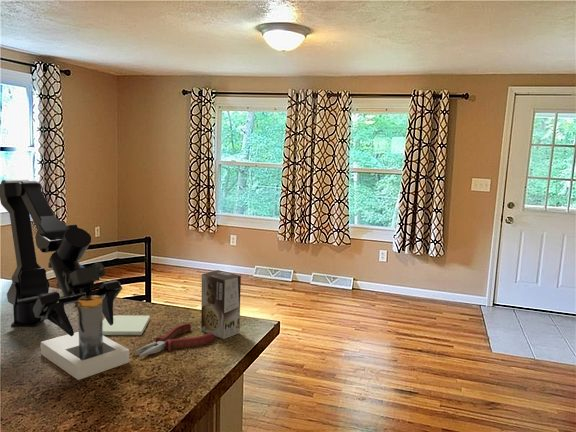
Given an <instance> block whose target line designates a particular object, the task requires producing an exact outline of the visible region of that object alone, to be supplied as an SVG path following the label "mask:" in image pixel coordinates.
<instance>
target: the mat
mask: <svg viewBox="0 0 576 432" xmlns="http://www.w3.org/2000/svg"><path fill="white" fill-rule="evenodd" d="M150 320H151V315H114V314H113V322H114V323H113V325H111V326H110V324H109V323H108V322H107V320H106V318H105V317H104V318H103V336H142V335H143V334H144V332H145V329H146V328H147V327H148V324H149V322H150Z"/></svg>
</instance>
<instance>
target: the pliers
mask: <svg viewBox="0 0 576 432" xmlns="http://www.w3.org/2000/svg"><path fill="white" fill-rule="evenodd" d="M191 330H192V325H191V324H190V323H184V324H181V325H177V326H175V327H173V328H172V329H170V330H169V331H168V332H167V333H166V334H164V336H157V337H156V338H155V341H153V342H151V343H149V344H146V345H145V346H142V347H139V348H137V349H135V350H134V351H132V352H131V354H139V355H138V357H140V358H141V357H144V356H149V355H153V354H156V353H160V352H162V351H163V350H166V351H168V352H172V350H173V349H174V350H175V349H182V348H190V347H191V348H192V347H198V346H205V345H206V344H209V343H211V342H213V341H214V340H215V336H214V334H213V333H205V334H202V335H199V336H194V337H182V338H176V336H179V335H180V334H183V333H186V332H189V331H191Z"/></svg>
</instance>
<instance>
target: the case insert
mask: <svg viewBox="0 0 576 432" xmlns="http://www.w3.org/2000/svg"><path fill="white" fill-rule="evenodd" d="M40 354H41V355H42V356H43V357H44V358H46V359H48V360H49V361H51V362H52V363H53V364H54V365H56V366H57V367H59V368H60V369H62V370H63V371H65V372H66V373H67V374H68V375H70V376H71V377H73V378H75V380H77V381H79V380H83V379H85V378H89V377H91V376H94V375H96V374H99V373H102V372H106V371H107V370H110V369H113V368H117V367H119V366H123V365H125V364H128V363H130V349H128V348H127V347H126V346H123V345H121V344H119V343H118V342H116V341H114V340H112V339H110V338H109V337H107V336H106V335H103V354H102V355H98V356H95V357H92V358H89V359H86V360H83V361H82V360H81V359H79V331H75V332H74V335H73V336H70V335H69V334H65V335H60V336H57V337H52V338H50V339H46V340H42V341H40Z"/></svg>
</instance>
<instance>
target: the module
mask: <svg viewBox="0 0 576 432" xmlns="http://www.w3.org/2000/svg"><path fill="white" fill-rule="evenodd" d="M77 311H78V312H77V314H78V315H77V317H78V332H79V359H81V360H82V361H83V360H86V359H89V358H92V357H95V356H98V355H102V354H103V336H104V335H103V320H104V318H103V316H104V314H103V312H102V297H101V296H97V295H89V296H83V297H80V298H79V299H78V302H77Z"/></svg>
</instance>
